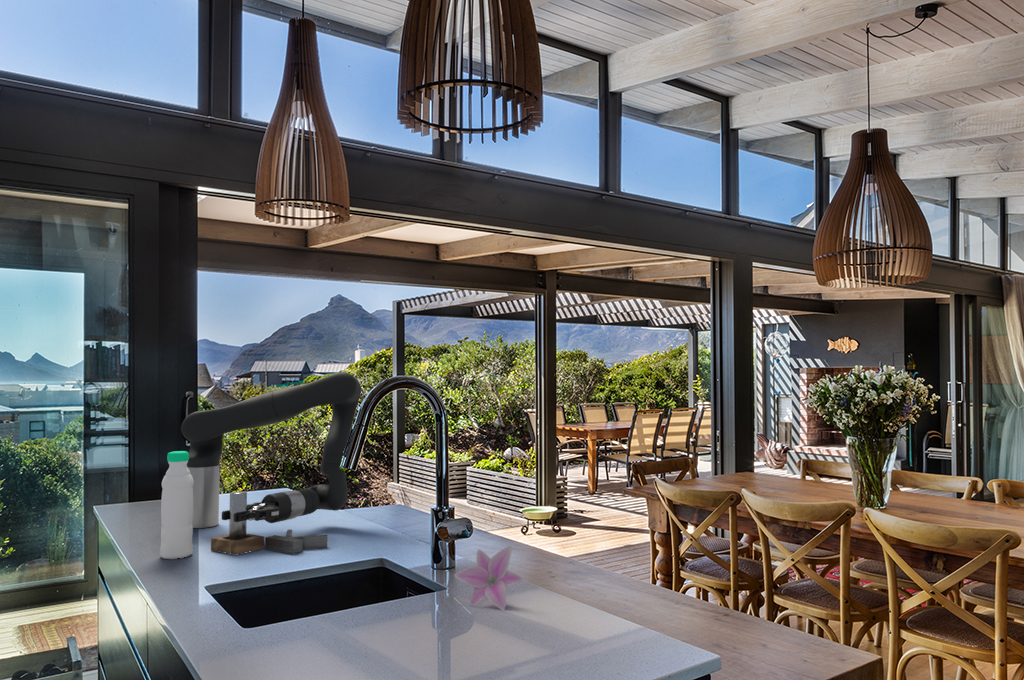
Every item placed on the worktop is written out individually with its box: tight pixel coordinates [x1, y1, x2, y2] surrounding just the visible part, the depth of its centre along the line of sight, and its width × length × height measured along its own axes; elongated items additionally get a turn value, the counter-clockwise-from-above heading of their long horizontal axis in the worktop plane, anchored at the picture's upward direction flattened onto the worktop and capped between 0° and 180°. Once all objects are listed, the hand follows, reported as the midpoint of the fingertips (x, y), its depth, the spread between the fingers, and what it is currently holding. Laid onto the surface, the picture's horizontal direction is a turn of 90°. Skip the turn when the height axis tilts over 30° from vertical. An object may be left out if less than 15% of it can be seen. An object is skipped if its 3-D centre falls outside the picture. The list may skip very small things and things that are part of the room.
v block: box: [264, 529, 328, 555], centre depth 182 cm, size 14×10×3 cm
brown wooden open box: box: [210, 533, 265, 555], centre depth 181 cm, size 10×8×3 cm
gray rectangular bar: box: [228, 491, 248, 541], centre depth 181 cm, size 4×4×14 cm
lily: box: [454, 546, 523, 610], centre depth 138 cm, size 12×12×10 cm
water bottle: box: [159, 450, 194, 560], centre depth 175 cm, size 7×7×25 cm
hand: (228, 516), depth 179 cm, fingers closed on gray rectangular bar, 4 cm apart
